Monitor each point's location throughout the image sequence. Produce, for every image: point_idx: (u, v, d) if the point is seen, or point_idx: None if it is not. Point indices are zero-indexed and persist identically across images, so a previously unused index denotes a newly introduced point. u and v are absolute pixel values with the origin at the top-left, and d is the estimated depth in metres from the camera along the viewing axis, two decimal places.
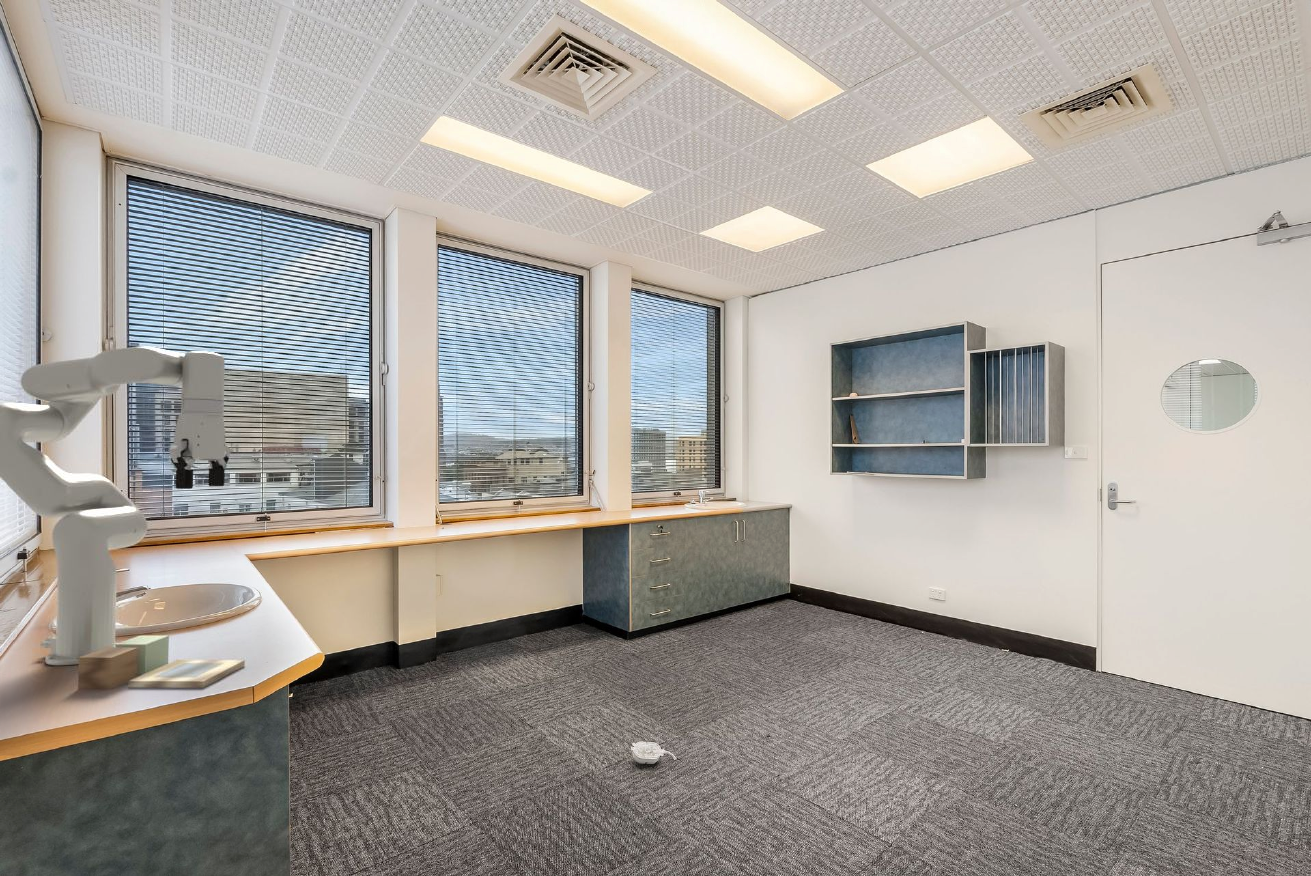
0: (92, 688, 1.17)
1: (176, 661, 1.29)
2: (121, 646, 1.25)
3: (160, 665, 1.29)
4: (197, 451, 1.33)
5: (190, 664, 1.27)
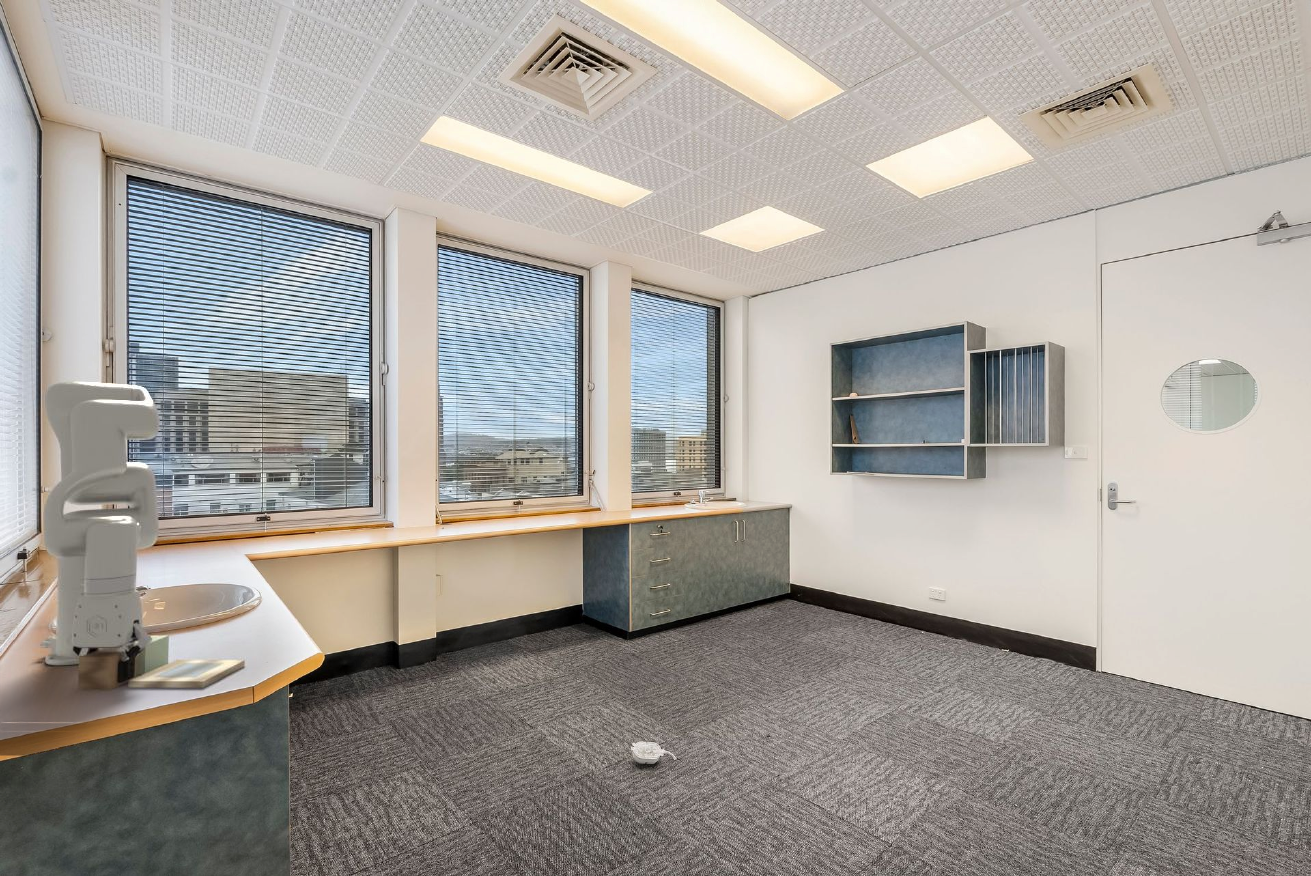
0: (92, 688, 1.17)
1: (176, 661, 1.29)
2: None
3: (160, 665, 1.29)
4: None
5: (190, 664, 1.27)
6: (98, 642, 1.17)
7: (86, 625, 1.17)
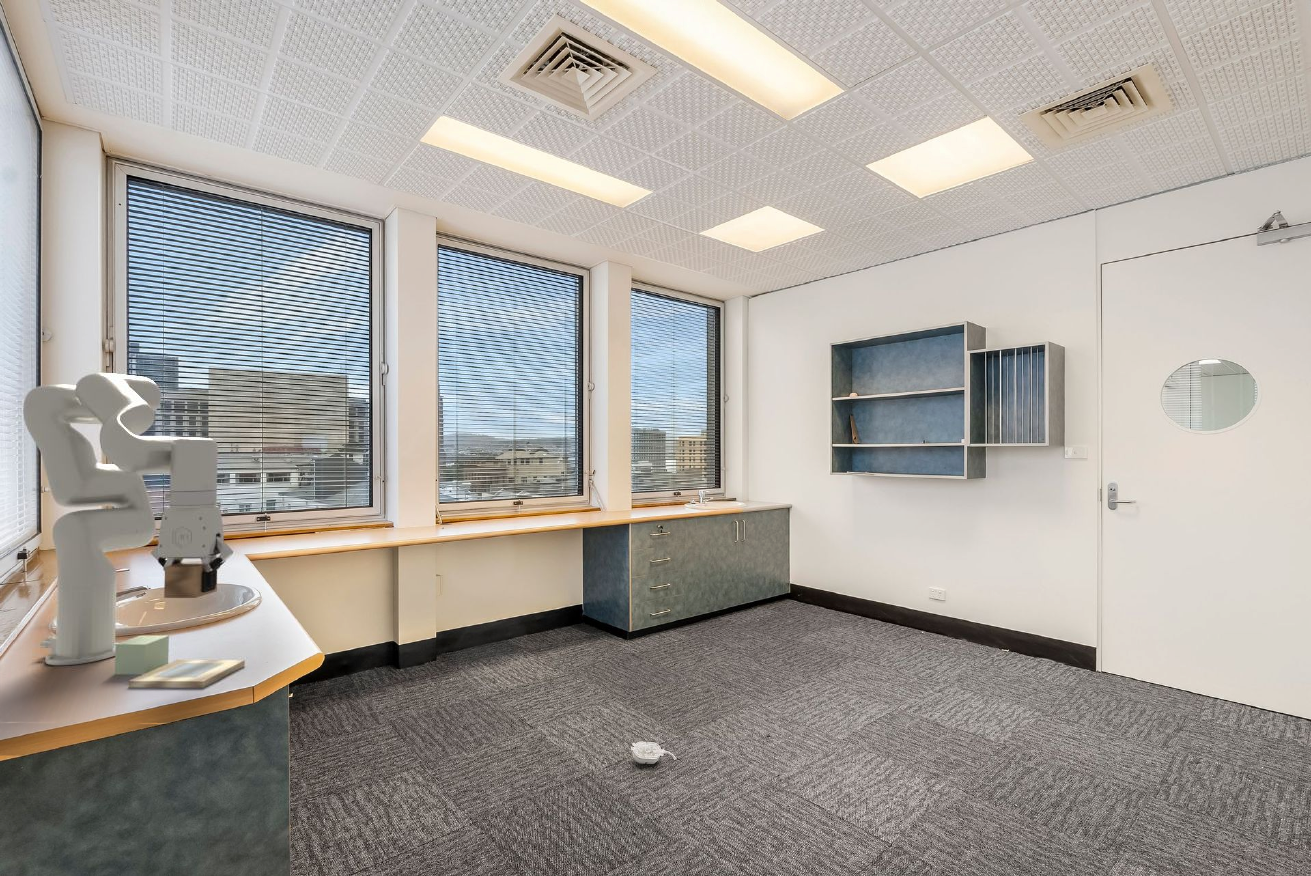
0: (178, 596, 1.21)
1: (176, 661, 1.29)
2: (121, 646, 1.25)
3: (160, 665, 1.29)
4: None
5: (190, 664, 1.27)
6: (183, 552, 1.22)
7: (172, 536, 1.22)
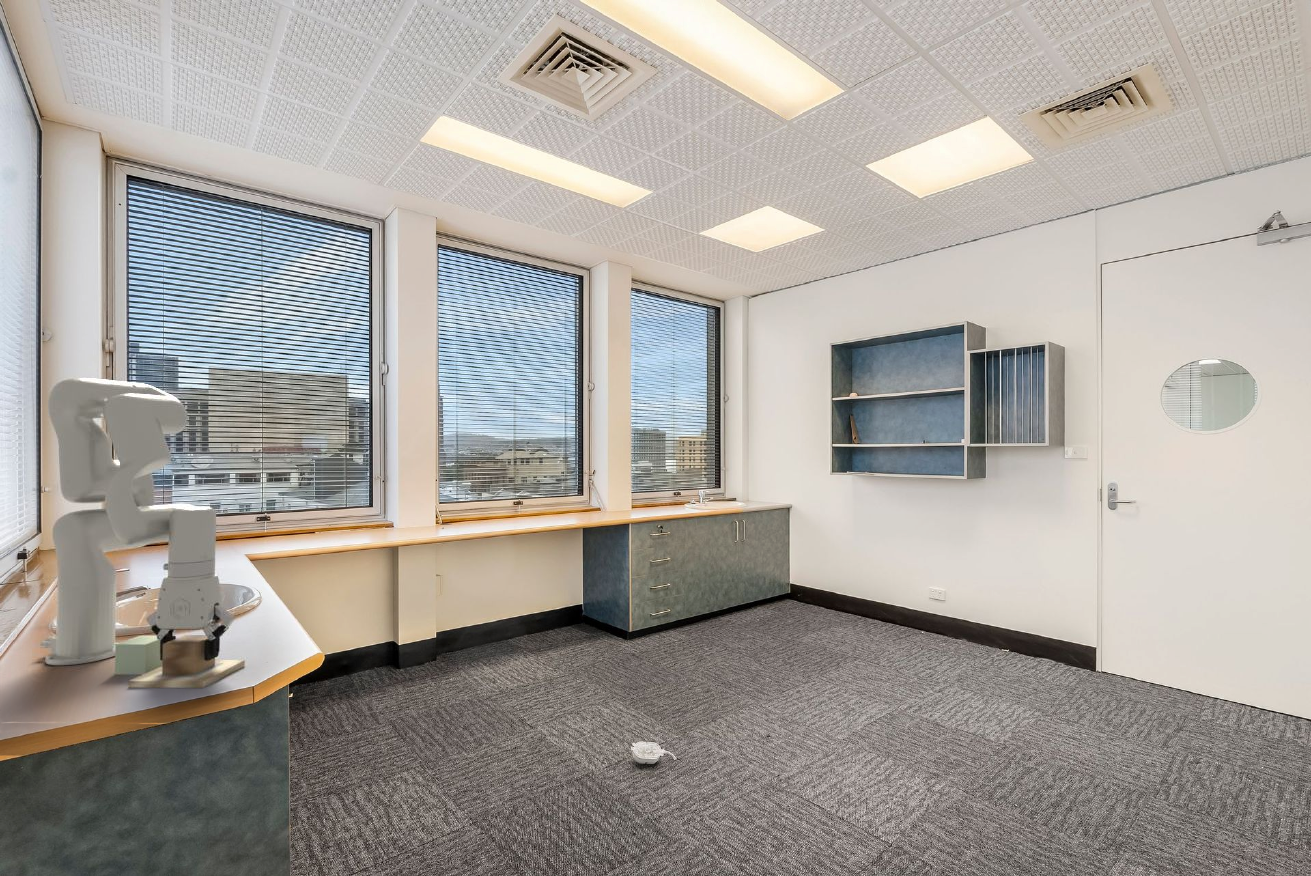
0: (176, 674, 1.21)
1: None
2: (121, 646, 1.25)
3: (160, 665, 1.29)
4: None
5: None
6: (182, 624, 1.21)
7: (170, 607, 1.22)
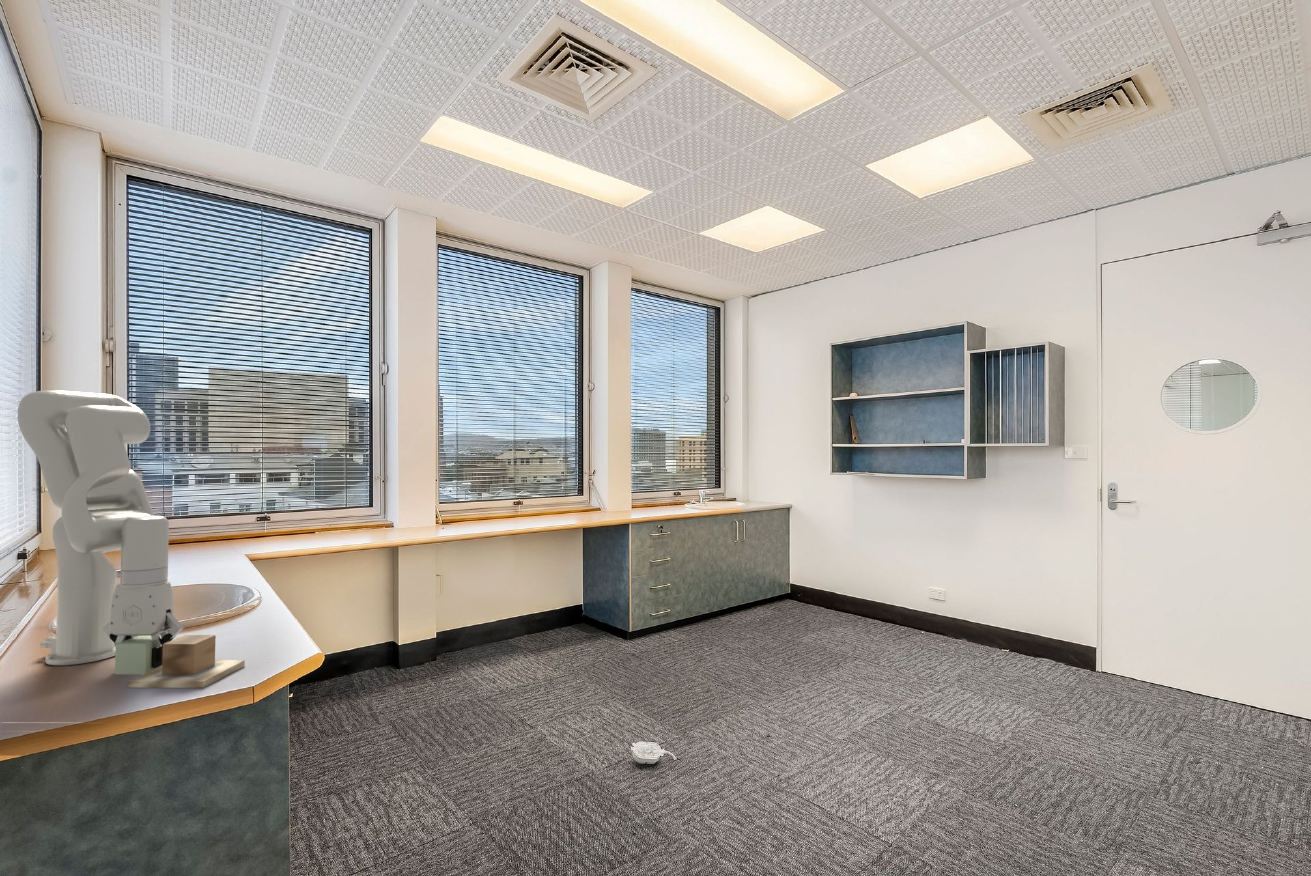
0: (176, 674, 1.21)
1: None
2: (121, 646, 1.25)
3: None
4: None
5: None
6: (133, 630, 1.25)
7: (122, 614, 1.25)
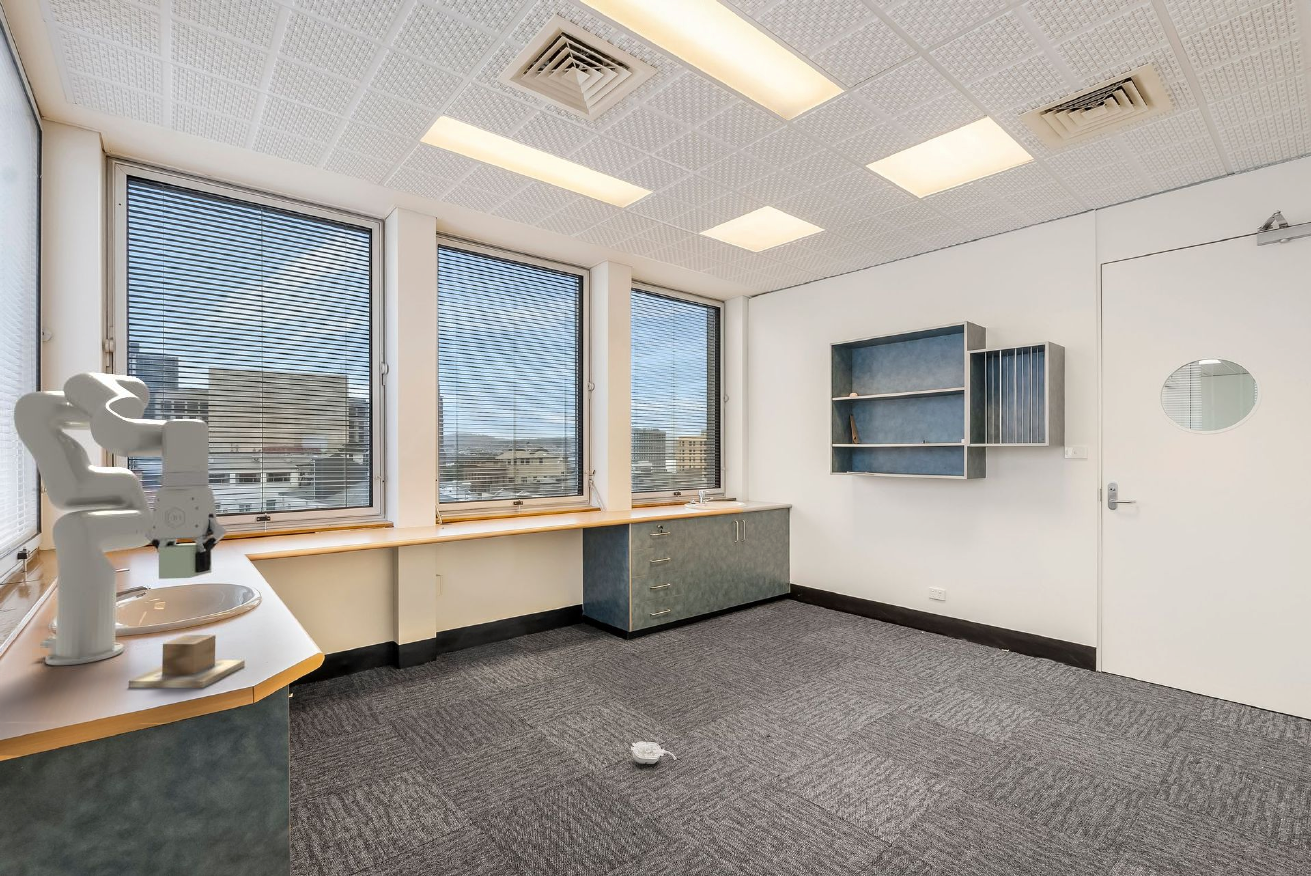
0: (176, 674, 1.21)
1: None
2: (164, 549, 1.22)
3: None
4: None
5: None
6: (177, 533, 1.22)
7: (165, 517, 1.22)
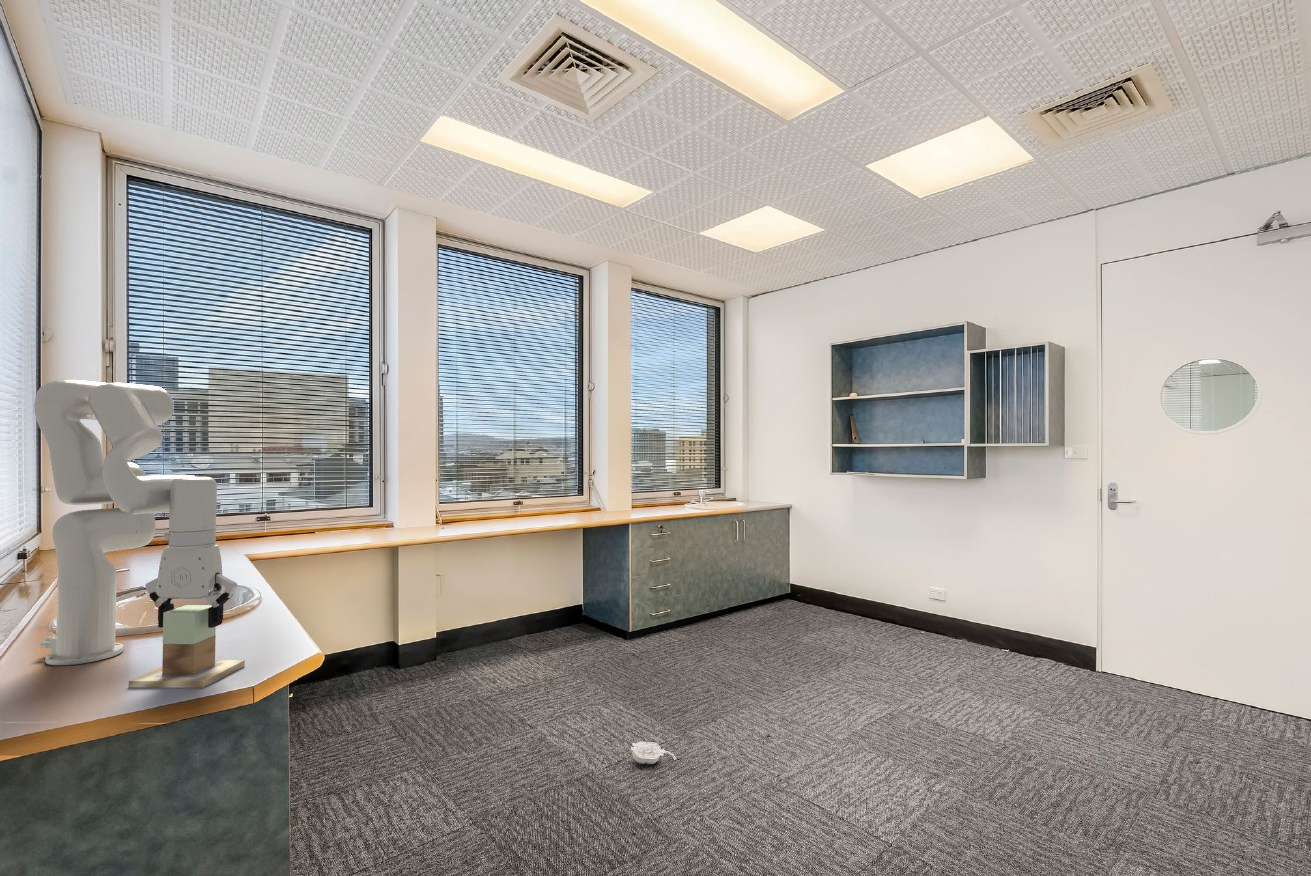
0: (176, 674, 1.21)
1: None
2: (169, 614, 1.21)
3: (208, 635, 1.25)
4: None
5: None
6: (182, 593, 1.22)
7: (171, 576, 1.22)
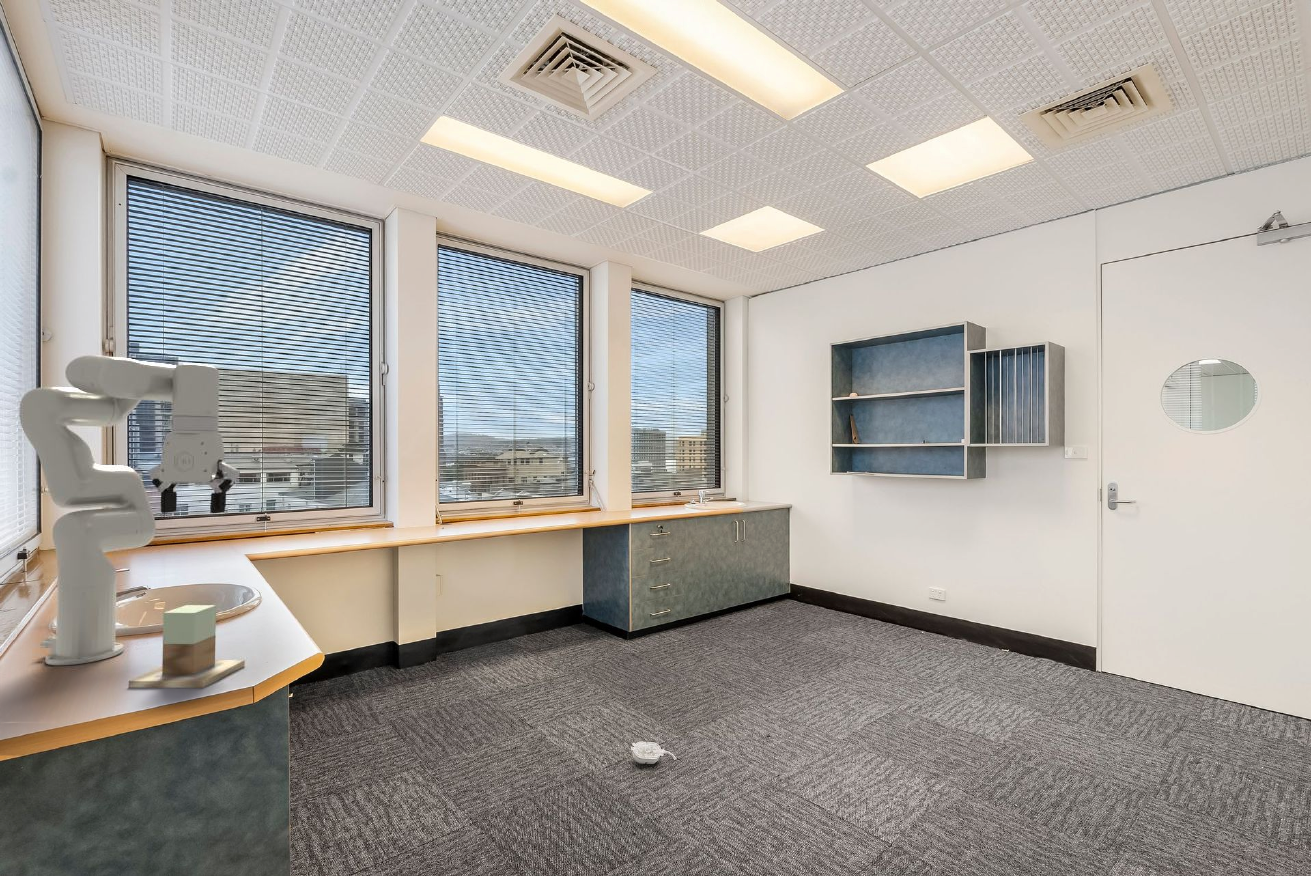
0: (176, 674, 1.21)
1: None
2: (169, 614, 1.21)
3: (208, 635, 1.25)
4: None
5: None
6: (185, 477, 1.22)
7: (174, 461, 1.22)
